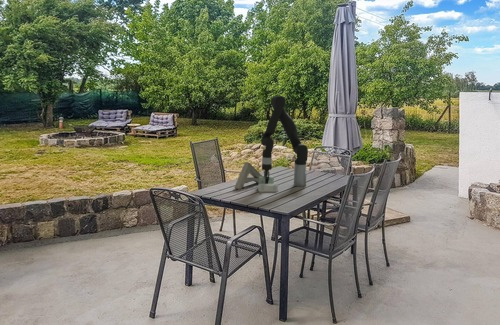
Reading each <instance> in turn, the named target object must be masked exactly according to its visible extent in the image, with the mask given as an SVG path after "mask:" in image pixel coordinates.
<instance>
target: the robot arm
mask: <svg viewBox="0 0 500 325" xmlns="http://www.w3.org/2000/svg"><path fill="white" fill-rule="evenodd" d="M286 102H287V101H286V98H285V97H284V96H283V95H275V96H273V97H272V98H271V99H270V104H271V107H272V108H273V111H272V114H271V116H270V118H269V119H268V122H267V125H266V129H265V130H264V133H263V135H262V136H261V140H260V142H261V143H260V144H261V145H262V146H263V147H264V149H263V150H262V154H261V155H262V156H261V157H262V158H261V170H264V171H263V177H265V184H268V181H269V177H270V170H272V167H273V164H272V163H273V158H272V155H273V154H272V152H273V149H274V147H275V146H274V144H275V142H274V139H273V138H272V137H271V136H273V135H275V133H276V130H277V126H278V122H280V124H281V125H282V128H283V130H284V132H285V134H286V136H287V138H288V140H289V142H290V144H291V146H292V150H293V153H294V154H295V155H296V158H295V160H294V166H293V167H294V168H293V169H294V170H293V186H295V187H306V186H307V162H308V158H309V157H308V156H309V155H308V154H309V149H308V146H307V145H305V144H303V143H302V142H301V140H300V138H299V135H298V129H297V126H296V124H295V121H294V120H293V118H292V117H291V116H290V115H289V114H288V112H286V109H285V106H286ZM267 178H268V179H267Z"/></svg>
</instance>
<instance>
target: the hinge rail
mask: <svg viewBox="0 0 500 325" xmlns="http://www.w3.org/2000/svg"><path fill="white" fill-rule="evenodd" d="M257 185H258V186H257V190H258V192H260V193H263V192H264V193H268V192H269V193H270V192H271V193H272V192H273V193H274V192H275V193H276V192H277V193H278V192H279V185H278V183H274V184H259V183H257Z"/></svg>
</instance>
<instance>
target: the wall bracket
mask: <svg viewBox="0 0 500 325" xmlns="http://www.w3.org/2000/svg"><path fill="white" fill-rule="evenodd" d="M241 168H242V169H241V170H240V173H239V175H238V177H237V181H236V183H235V185H234V189H236V190H241V189H242V188H244V186H245V184H248V183H251V182H254V183H257V184H259V177H264V175H262V174H261V173H260V172H259V171H258V170H257V169H256V168H255V167H254V166H253V165H252V164H251V163H250V162H247V161H246V162H244V164H243V165H242V167H241ZM249 174H250V175H251V177H250V176H249ZM248 176H249V177H248Z"/></svg>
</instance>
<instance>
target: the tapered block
mask: <svg viewBox="0 0 500 325" xmlns="http://www.w3.org/2000/svg"><path fill="white" fill-rule="evenodd" d="M267 179H268V178H267ZM274 182H275V177H274V176H269V181H268V184H275V183H274ZM258 184H265V177H264V176H263V177H259V183H258Z"/></svg>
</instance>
